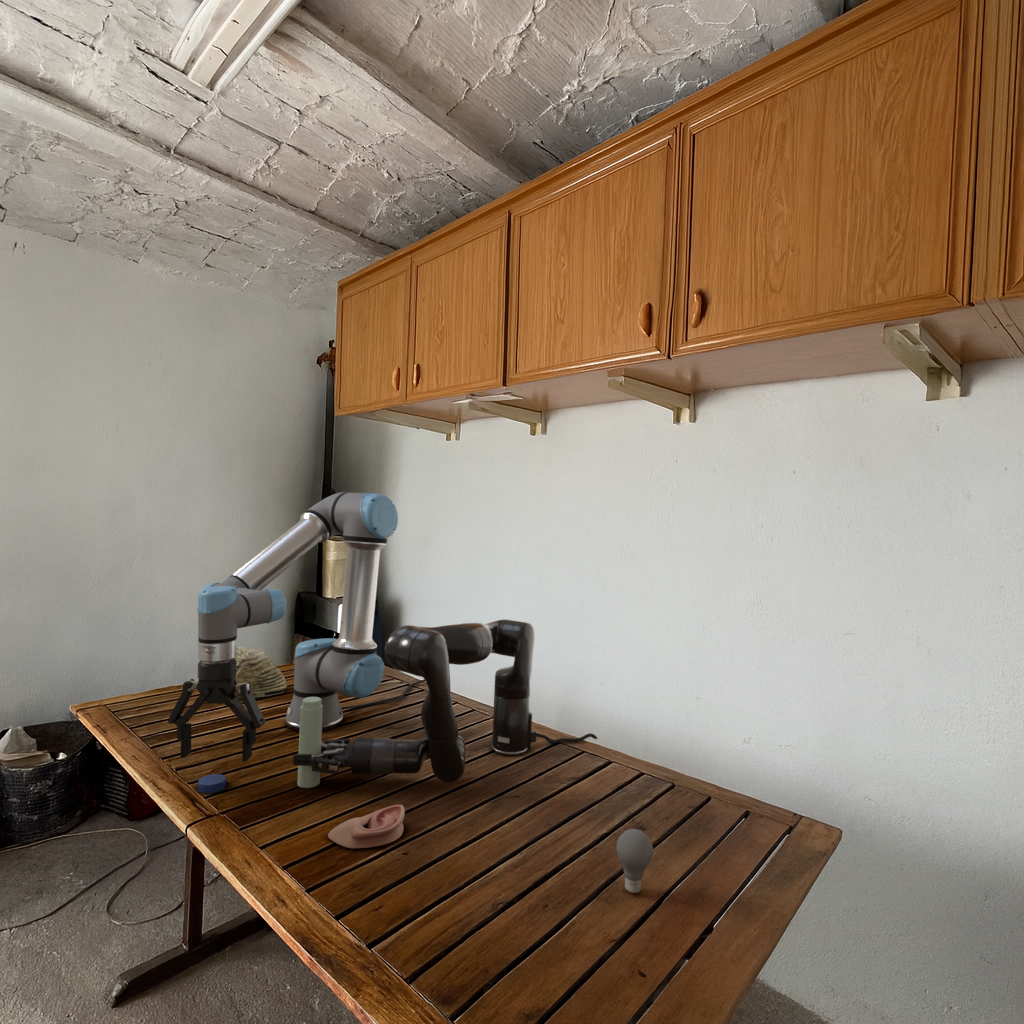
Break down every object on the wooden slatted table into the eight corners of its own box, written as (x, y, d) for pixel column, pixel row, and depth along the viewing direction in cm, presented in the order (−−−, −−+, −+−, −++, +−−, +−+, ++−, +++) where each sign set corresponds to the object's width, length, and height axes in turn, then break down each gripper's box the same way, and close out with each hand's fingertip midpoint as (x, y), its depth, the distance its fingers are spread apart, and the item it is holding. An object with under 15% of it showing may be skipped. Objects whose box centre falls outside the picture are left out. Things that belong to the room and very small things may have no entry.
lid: (230, 787, 136) (231, 779, 136) (205, 796, 132) (206, 787, 132) (217, 779, 140) (217, 771, 140) (192, 788, 135) (193, 779, 135)
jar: (306, 790, 136) (309, 704, 136) (292, 783, 139) (296, 699, 139) (324, 782, 140) (327, 699, 140) (310, 776, 143) (314, 694, 143)
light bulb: (610, 879, 108) (613, 822, 108) (644, 879, 109) (647, 822, 109) (619, 902, 102) (622, 840, 102) (655, 901, 103) (658, 840, 103)
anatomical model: (320, 822, 115) (348, 794, 127) (319, 843, 116) (348, 813, 127) (388, 833, 113) (411, 803, 124) (387, 855, 113) (410, 823, 124)
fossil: (218, 695, 195) (220, 647, 195) (278, 685, 208) (279, 640, 207) (228, 703, 189) (230, 653, 188) (289, 692, 201) (290, 645, 201)
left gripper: (150, 661, 132) (149, 761, 133) (266, 667, 131) (265, 767, 132) (171, 652, 140) (170, 746, 141) (281, 657, 138) (280, 752, 139)
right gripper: (380, 727, 148) (306, 726, 147) (370, 752, 133) (288, 750, 132) (379, 759, 148) (304, 758, 147) (369, 787, 134) (287, 786, 132)
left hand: (216, 757), depth 136 cm, fingers open, 13 cm apart
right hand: (297, 754), depth 139 cm, fingers closed on jar, 4 cm apart
